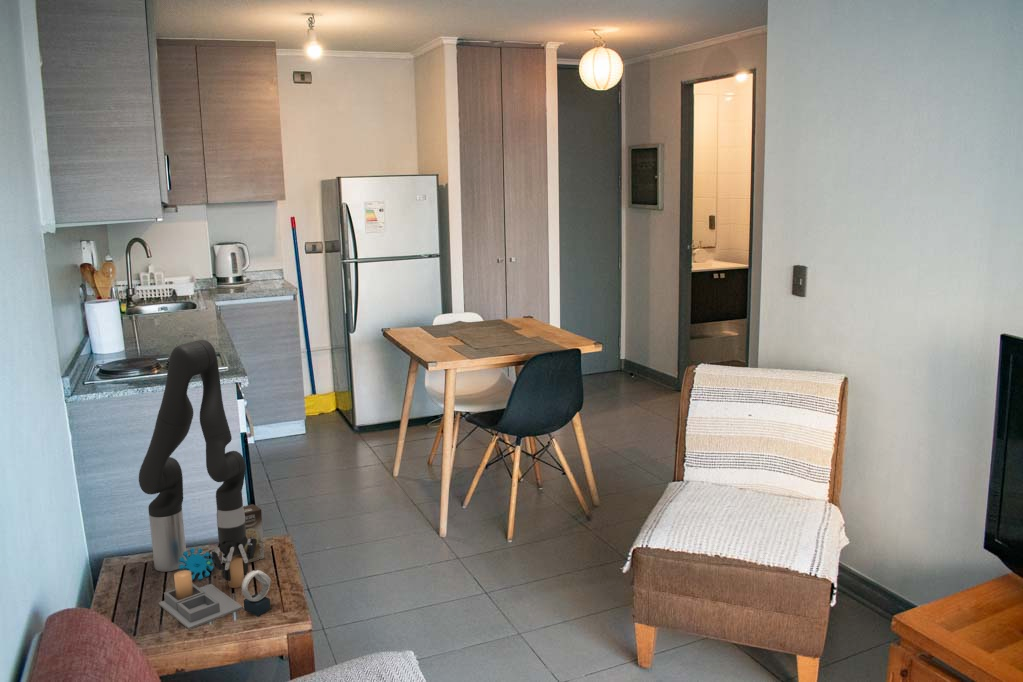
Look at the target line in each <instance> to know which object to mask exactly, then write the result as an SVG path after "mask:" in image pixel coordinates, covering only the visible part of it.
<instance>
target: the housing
mask: <svg viewBox="0 0 1023 682" xmlns="http://www.w3.org/2000/svg"><path fill="white" fill-rule="evenodd" d="M192 575H193V574H192V573H191V571H189V570H188V569H182V570H180V571H179V570H178V571H177V572H175V573H174V575H173V578H174V588H173V589H170V590H168V591H165V592H163V594H164V600H162V601H160V602H158V606H160V607H161V608H162V609H163V610H165V611H166V612H167V613H168V614H169V615H171V616H172V617H173V618H174V619H176V620H177V621H178V622H179V623H180V624H181V625H183V626H184V627H185V628H186V629H188V631H189V630H192V629H194V628H197V627H200V626H202V625H204V624H208V623H210V622H212V621H214V620H218V619H221V618H222V617H225V616H228V615H230V614H232V613H236V612H238V611H241V610H242V609H243V610H244V605H243V606H242V605H241V604H240V603H239V602H237V601H236V600H234V599H233V598H231V597H230V595H227V594H226V593H224V592H223V591H222V590H220V588H218V587H217V586H215V585H213V584H212V583H210V584H209V583H208V584H205V585H204V586H200V587H199V586H197V585H196V584H194V583H193V580H192Z"/></svg>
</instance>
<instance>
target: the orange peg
mask: <svg viewBox="0 0 1023 682" xmlns="http://www.w3.org/2000/svg"><path fill="white" fill-rule="evenodd" d="M229 569H230V579H231V581H227V584H228V587H229V588H231V589H234V588H241V587H242V582H243V580H244V578H245V576H244V571H243V559H242V557H241V556H239V555H235V556H233V557H232V559H231V562H230V565H229Z"/></svg>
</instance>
